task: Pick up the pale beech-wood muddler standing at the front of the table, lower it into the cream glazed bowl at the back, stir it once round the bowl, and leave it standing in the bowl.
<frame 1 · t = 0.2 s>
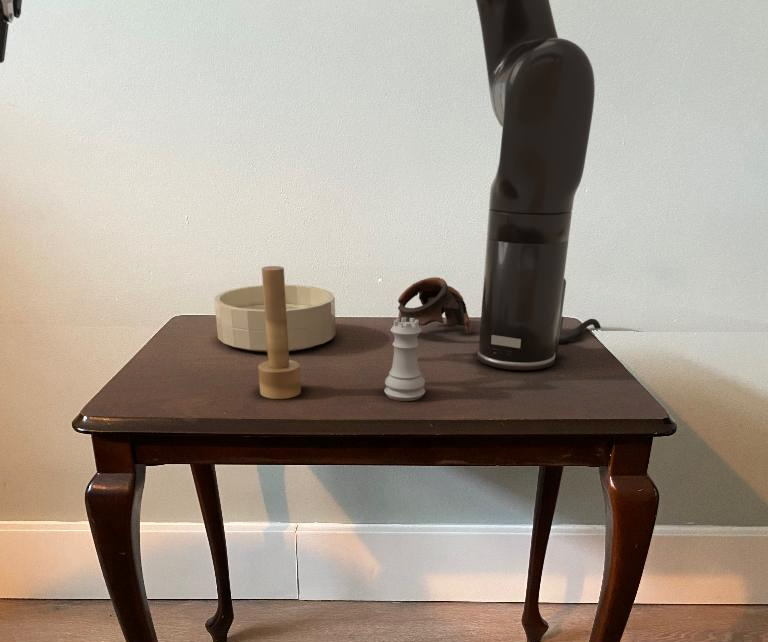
bowl: (277, 338, 98), on the table
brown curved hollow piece: (433, 332, 102), on the table
muddler: (280, 392, 79), on the table
rook chess piece: (404, 396, 79), on the table
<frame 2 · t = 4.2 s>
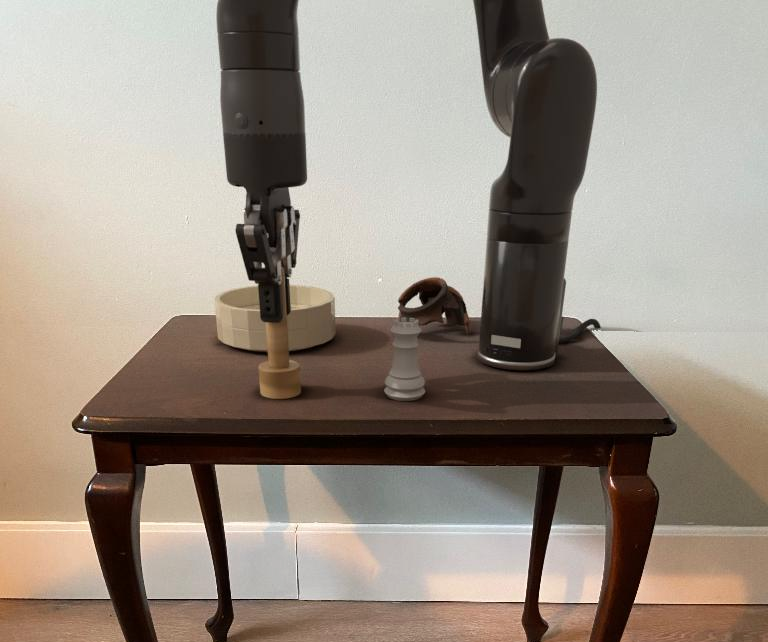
hand: (276, 317, 75), 8 cm above the table, tool pointing down, fingers closed on muddler, 2 cm apart
muddler: (280, 392, 79), on the table, touching gripper
everything else where it was.
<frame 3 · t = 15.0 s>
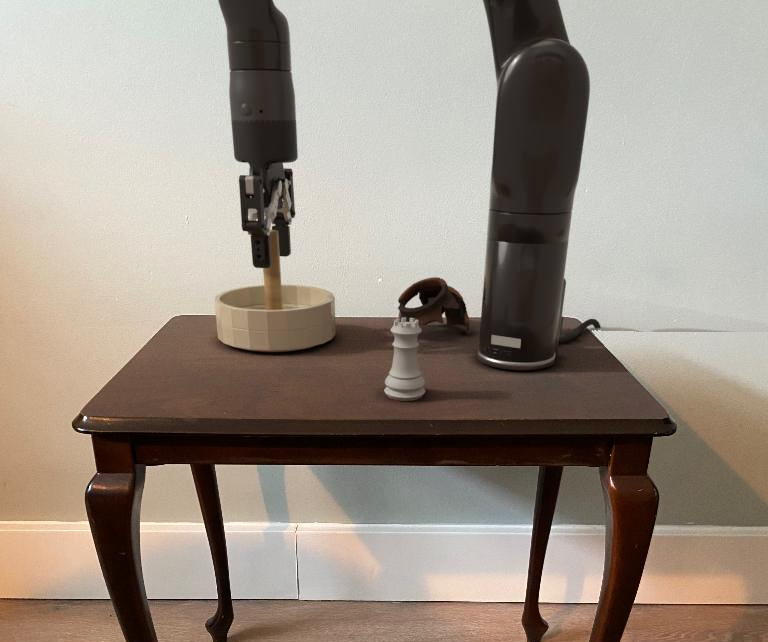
hand: (272, 261, 93), 10 cm above the table, tool pointing down, fingers open, 8 cm apart
muddler: (275, 334, 97), point 1 cm above the table, touching bowl
everything else where it was.
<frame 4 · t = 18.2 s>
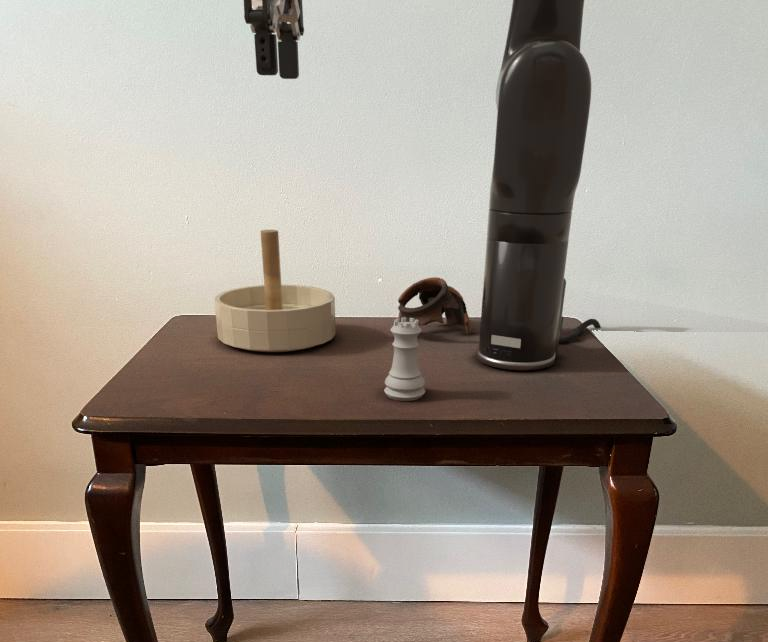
hand: (279, 77, 83), 30 cm above the table, tool pointing down, fingers open, 8 cm apart
nothing on the table moved.
at the end: muddler inside the target area in the bowl (0.2 cm from its centre), point 0.6 cm above the bowl's base; muddler tilted 0°; muddler moved 21.4 cm from its start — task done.
